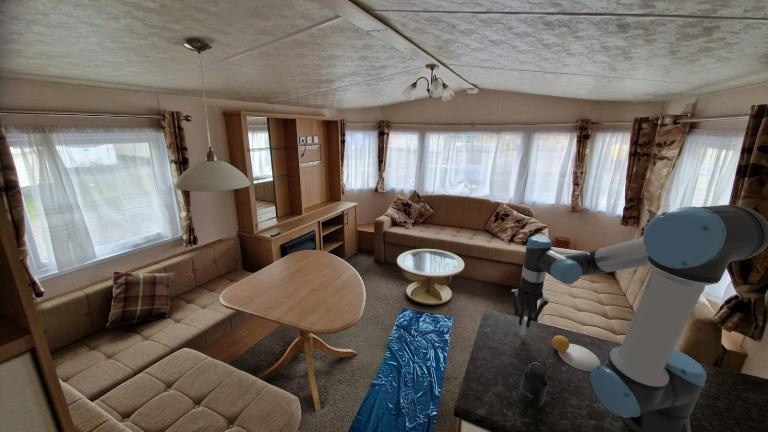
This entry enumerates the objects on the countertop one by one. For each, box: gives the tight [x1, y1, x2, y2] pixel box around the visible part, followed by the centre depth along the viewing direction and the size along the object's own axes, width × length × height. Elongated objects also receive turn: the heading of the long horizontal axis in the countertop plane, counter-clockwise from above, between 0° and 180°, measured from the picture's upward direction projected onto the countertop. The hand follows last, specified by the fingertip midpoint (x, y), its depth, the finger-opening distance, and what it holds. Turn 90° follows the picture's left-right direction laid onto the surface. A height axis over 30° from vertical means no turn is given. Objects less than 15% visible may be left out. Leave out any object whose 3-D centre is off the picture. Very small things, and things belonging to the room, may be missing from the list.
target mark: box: [557, 343, 601, 372], centre depth 111 cm, size 13×13×1 cm
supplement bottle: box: [518, 361, 549, 409], centre depth 92 cm, size 7×7×12 cm
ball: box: [551, 334, 570, 352], centre depth 113 cm, size 6×6×6 cm
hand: (522, 332), depth 119 cm, fingers closed
